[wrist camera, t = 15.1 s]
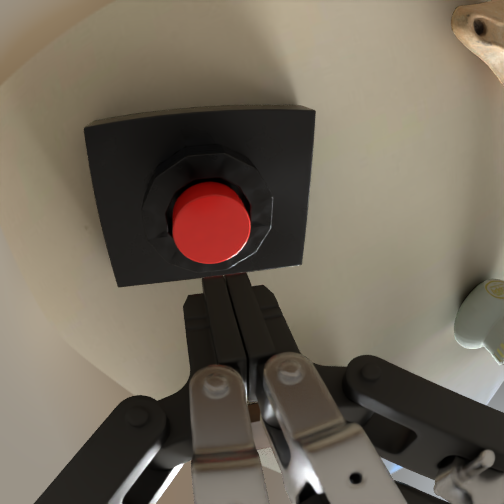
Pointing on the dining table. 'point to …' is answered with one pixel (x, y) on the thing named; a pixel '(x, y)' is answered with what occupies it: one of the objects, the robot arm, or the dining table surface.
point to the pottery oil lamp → (483, 32)
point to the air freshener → (483, 319)
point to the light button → (210, 223)
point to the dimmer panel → (257, 427)
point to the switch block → (197, 171)
